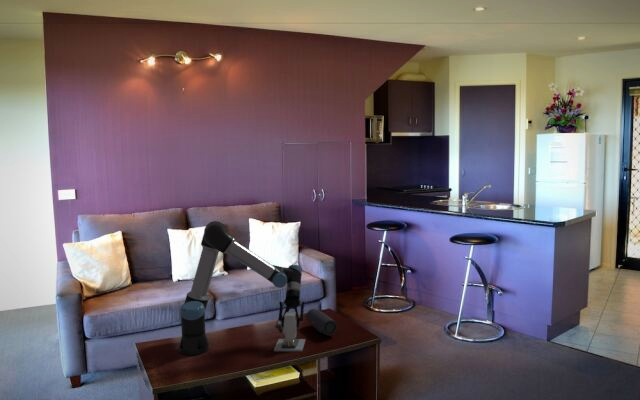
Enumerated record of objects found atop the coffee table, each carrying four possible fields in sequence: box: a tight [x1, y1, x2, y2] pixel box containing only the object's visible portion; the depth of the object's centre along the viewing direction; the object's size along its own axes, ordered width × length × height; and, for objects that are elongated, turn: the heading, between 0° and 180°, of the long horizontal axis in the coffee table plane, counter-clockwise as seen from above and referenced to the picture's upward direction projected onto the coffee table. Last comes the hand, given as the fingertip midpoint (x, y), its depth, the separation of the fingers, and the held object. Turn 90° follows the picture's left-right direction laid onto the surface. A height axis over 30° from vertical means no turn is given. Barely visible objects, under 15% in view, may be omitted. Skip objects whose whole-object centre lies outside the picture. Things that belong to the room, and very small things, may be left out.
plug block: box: [284, 311, 298, 339], centre depth 268 cm, size 5×6×12 cm
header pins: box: [281, 340, 296, 348], centre depth 262 cm, size 7×2×4 cm, turn 85°
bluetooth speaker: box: [305, 308, 338, 336], centre depth 287 cm, size 23×9×10 cm, turn 25°
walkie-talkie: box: [276, 315, 283, 332], centre depth 298 cm, size 9×4×20 cm
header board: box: [273, 338, 306, 352], centre depth 267 cm, size 14×14×1 cm
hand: (289, 333), depth 265 cm, fingers closed on plug block, 5 cm apart
